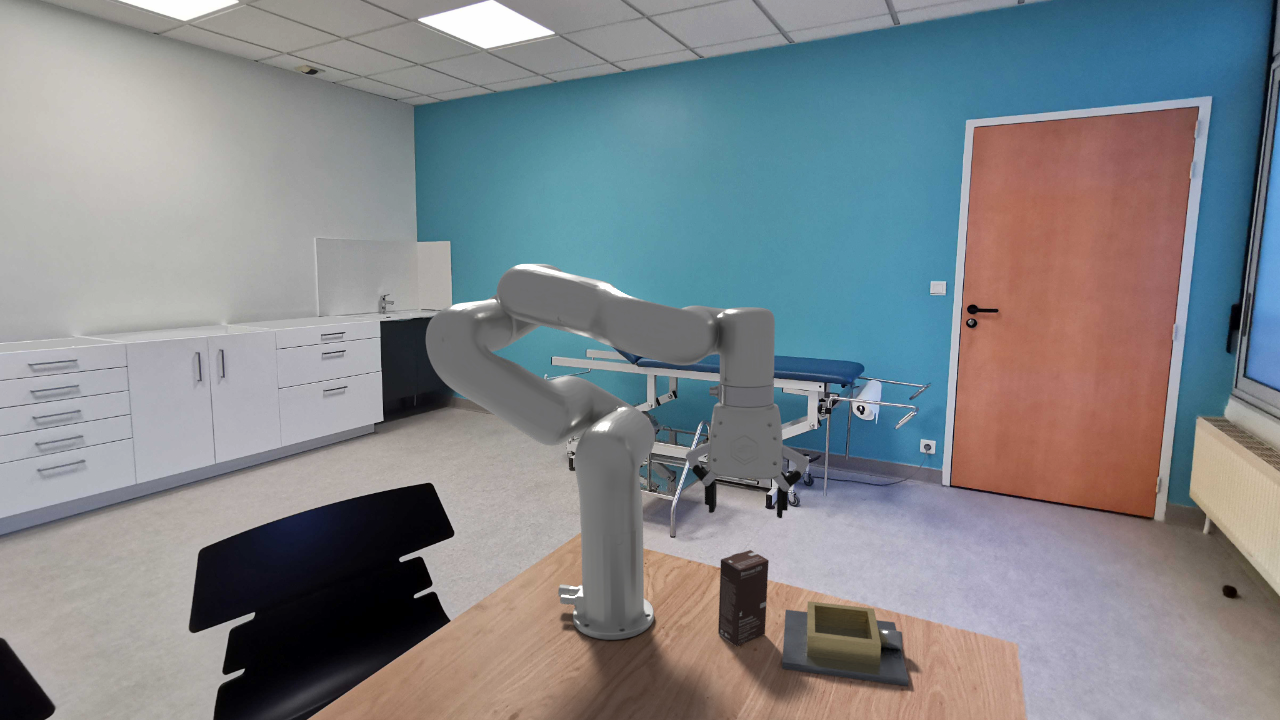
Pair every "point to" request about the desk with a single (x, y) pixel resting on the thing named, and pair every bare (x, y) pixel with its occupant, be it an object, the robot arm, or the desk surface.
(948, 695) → the desk surface
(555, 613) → the desk surface
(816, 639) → the square socket base
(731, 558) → the box
